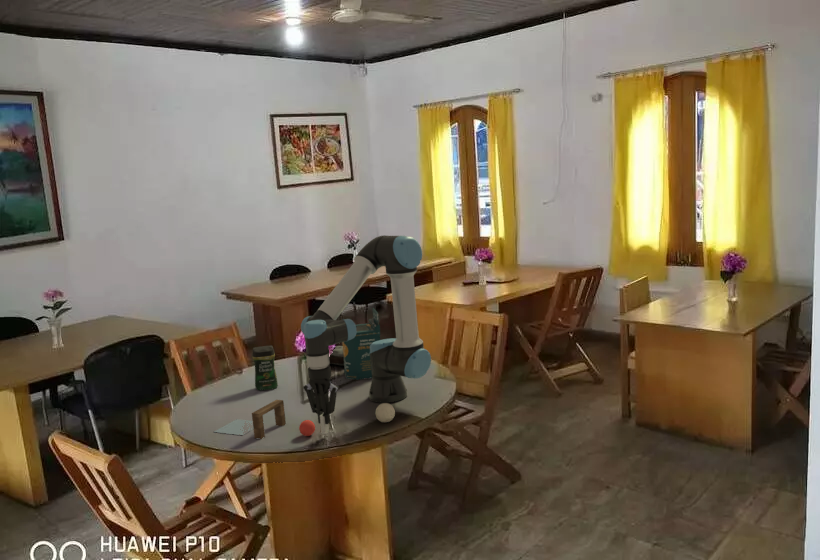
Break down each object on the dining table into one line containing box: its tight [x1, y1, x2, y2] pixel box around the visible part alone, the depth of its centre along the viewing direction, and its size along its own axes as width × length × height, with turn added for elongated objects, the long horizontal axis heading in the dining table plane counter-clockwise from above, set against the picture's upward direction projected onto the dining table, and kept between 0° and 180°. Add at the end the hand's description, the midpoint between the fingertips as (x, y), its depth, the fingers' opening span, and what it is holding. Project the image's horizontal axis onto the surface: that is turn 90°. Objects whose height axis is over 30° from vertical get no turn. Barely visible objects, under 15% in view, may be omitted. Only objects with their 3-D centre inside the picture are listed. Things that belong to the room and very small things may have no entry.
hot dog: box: [329, 345, 344, 366], centre depth 331 cm, size 18×11×8 cm, turn 48°
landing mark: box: [213, 418, 253, 436], centre depth 257 cm, size 13×13×1 cm
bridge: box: [251, 399, 287, 440], centre depth 250 cm, size 3×14×9 cm, turn 154°
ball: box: [298, 419, 316, 437], centre depth 243 cm, size 6×6×6 cm
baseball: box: [375, 402, 396, 423], centre depth 251 cm, size 7×7×7 cm
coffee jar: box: [251, 345, 279, 391], centre depth 301 cm, size 10×8×19 cm
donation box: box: [341, 307, 381, 381], centre depth 311 cm, size 16×16×28 cm
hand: (325, 432), depth 240 cm, fingers closed
